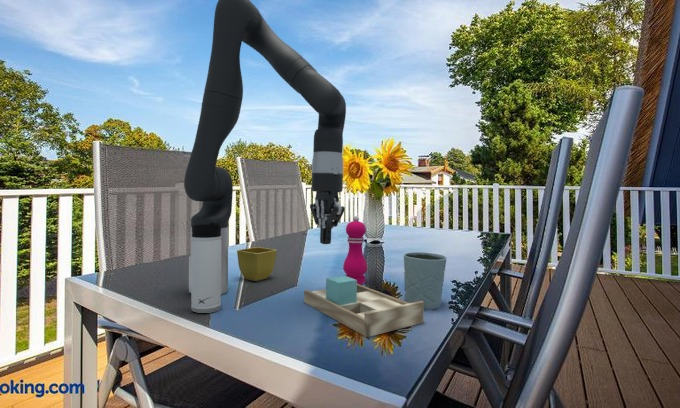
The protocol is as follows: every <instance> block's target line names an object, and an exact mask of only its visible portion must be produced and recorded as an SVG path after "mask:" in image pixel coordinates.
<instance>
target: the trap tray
mask: <svg viewBox="0 0 680 408" xmlns="http://www.w3.org/2000/svg"><path fill="white" fill-rule="evenodd" d="M303 303H305V304H306V305H308V306H310V307H312V308H313V309H315V310H317V311H318V312H320V313H322V314H324V315H326V316H328V317H330V318H331V319H333V320H335V321H336V322H339V323H340V324H342V325H343V326H346V327H347V328H349V329H351V330H353V331H355V332H356V333H358V334H360V335H362V336H363V337H366V338H369V337H374V336H377V335H380V334H385V333H389V332H392V331H396V330H400V329H404V328H408V327H411V326H415V325H419V324H423V323H424V317H425V315H424V314H425V312H424V302H423V301H418V302H413V303H408V302H405V300H402V299H399V298H397V297H395V296H391V295H389V294H386V293H383V292H380V291H378V290H375V289H372V288H370V287H367V286H365V285H363V284H357V302H355V303H350V304H345V305H337V304H335V303H333V302H331V301H329V300H327V299H326V288H325V289H324V288H323V289H318V290H309V289H304V291H303Z"/></svg>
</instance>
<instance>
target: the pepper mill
mask: <svg viewBox="0 0 680 408" xmlns="http://www.w3.org/2000/svg"><path fill="white" fill-rule="evenodd" d="M359 220H360V217H359V216H358V215H354V216H353V217H352V221H350V222H348V223H347V225H346V226H345V233H346V235H347V236H348V237H347V243H348V252H347V255H346V257H345V259H344V262H343V265H342V266H343V267H342V269H343V271H344V273H345V275H344V276H347V277H350V278H352V279H355V280H357V284H360V285H364V284H365V283H366V276H365V274H366V273H367V271H368V264H367V261H366V258H365V255H364V253H363V244H364V243H365V238H364V235H365V234H366V231H367V229H366V225H365V224H364V223H363V222H362V221H359Z"/></svg>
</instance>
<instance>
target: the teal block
mask: <svg viewBox="0 0 680 408" xmlns="http://www.w3.org/2000/svg"><path fill="white" fill-rule="evenodd" d="M325 280H326V281H325V282H326V283H325V285H326V286H325V289H326V299H327V300H329V301H331V302H333V303H335V304H337V305H345V304H350V303H355V302H357V280H355V279H352V278H350V277H347V276H345V275H339V276H332V277H331V276H330V277H326V278H325Z"/></svg>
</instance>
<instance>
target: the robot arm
mask: <svg viewBox="0 0 680 408" xmlns="http://www.w3.org/2000/svg"><path fill="white" fill-rule="evenodd" d="M214 9H215V10H214V17H213V30H212V43H211V52H210V57H209V58H210V59H209V63H208V64H209V65H208V72H207V76H206V81H205V86H204V92H203V97H202V102H201V108H200V114H199V119H198V120H199V121H198V125H197V129H196V134H195V139H194V143H193V146H192V150H191V154H190V158H189V160H188V164H187V166H186V169H185V174H184V179H183V180H184V182H183V186H184V188H183V189H184V191H185V194H186V195H187V197H188V198H189V199H190V200H192V201H195V202H202V205H201V208H200V210H198V212H197V213H195V214H194V215H193V216H192V217H191V218H190V255H189V256H188V293H189V294H190V293H191V267H192V225H201V224H211V222H220V223H221V296H222V295H224V294H226V293H227V292H229V291H228V290H229V289H228V288H229V282H228V281H229V220H230V219H231V216H232V208H233V195H234V194H233V193H234V190H233V189H234V186H233V185H234V184H233V179H232V175H231V174H230V172H229V171H228V170H227V169H226V168H224V167H221V166H217V161H218V157H219V153H220V150H221V147H222V145H223V143H224V142H225V140H226V139H227V138H228V136H229V135H230V133H231V132H232V131H233V129H234V128H235V127H236V124H237V123H238V121H239V118H240V113H241V110H242V109H241V107H242V103H243V98H244V85H243V75H242V70H241V59H240V57H241V48H242V44H243V43H244V44H246V45H247V46H249V47H250V48H251V49H253V50H254V51H256V52H257V53H259V55H261V56H262V57H263V58H264V59H265V60H266V61H267V62H268V63H269V64H270V66H271V67H272V68H273V70H274V71H275V72H276V73H277V74H278V76H280V77H281V78H282V80H284V82H286V84H287V85H289V86H290V87H291V88H292V89H293V90H294V92H295V91H296V93H297V94H299V95H300V96H301V97H302V98H303V99H304V100H305V102H306V103H307V104H308V105H310V107H311V108H313V110H314V111H315V112H316V113H318V122H317V123H318V124H317V128H316V130H315V131H314V133H313V152H312V154H313V155H312V160H311V187H310V189H311V191H312V192H315V197H314V201H315V202H314V203H310V204H309V209H310V211H311V214H312V217H313V220H314V223H315V225H318V228H319V229H320V230H319V231H320V232H319V238H320V239H319V244H321V245H330V244H331V243H332V229H334V228H336V227H338V224H339V223H340V221H341V219H342V216H343V215H344V212H345V210H346V208H345V206H343V205H342V206H341V205H340V198H339V193H341V192H343V188H344V187H343V185H344V183H343V181H344V159H343V157H344V156H343V155H344V154H343V152H344V151H343V150H344V149H343V147H344V137H343V135H344V133H343V132H344V129H345V123H346V117H347V115H346V113H347V103H346V100H345V98H344V96H343V95H342V93H341V92H340V90H339V89H338V88H337V87H336V86H335V85H333V83H331V82H330V81H329V80H328V79H327V78H325V76H322V75H321V74H320V73H319V72H318V71H317V69H315V68H314V66H312V65H311V64H310V63H309V61H307V60H306V59H305V58H304V57H303V56H302V55H301V54H300V53H299V52H298V51H296V50H295V49H294V48H293V47H291V46H290V45H289V44H287V43H286V42H285V41H283V40H282V38H280V37H279V36H278V35H277V33H275V32H274V30H273V29H272V28H271V26H270V25H269V24H268V22H267V21H266V20H265V19H264V17H263V15H262V14H261V13H260V11H259V9H258V8H257V6H256V5H254V3H252V1H251V0H217V2H216V6H215V8H214Z"/></svg>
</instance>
